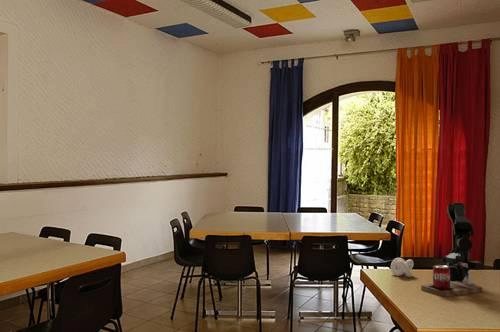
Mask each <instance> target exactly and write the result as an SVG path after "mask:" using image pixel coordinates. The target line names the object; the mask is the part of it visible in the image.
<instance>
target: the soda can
mask: <svg viewBox="0 0 500 332" xmlns="http://www.w3.org/2000/svg"><path fill="white" fill-rule="evenodd" d="M450 282H451V280H450V267H448V266H447V265H443V264H442V265H441V264H436V265H433V266H432V284H433V288H434V289H438V290H441V291H446V290H450Z"/></svg>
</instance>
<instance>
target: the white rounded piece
mask: <svg viewBox="0 0 500 332" xmlns="http://www.w3.org/2000/svg"><path fill="white" fill-rule="evenodd" d="M414 264H415V263H414V260H412V259H407V260H405V259H404V258H401V257H396V258H394V259H392V261H391V263H390V271H391V273H392V275H394V276H396V277H400V276H402V275H403V276H404V275H406V277H407V278H411V277H412V275H413V273H412V269H413V267H414Z"/></svg>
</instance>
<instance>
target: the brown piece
mask: <svg viewBox="0 0 500 332" xmlns="http://www.w3.org/2000/svg"><path fill="white" fill-rule="evenodd" d="M420 287H421V288H420V289H421V291H424V292H427V293H430V294H433V295H436V296H439V297H442V298H447V297H449V298H450V297H454V296H463V295H467V294H469V295H470V294H475V293H482V292H483V287H482V286H479V285H475V284H472V272H471V271H468V273H467V274H466V276H465V278H464V280H463V282H460V281H450V290H446V291H441V290H438V289H434V288H433V283H431V284H423V285H421V286H420Z"/></svg>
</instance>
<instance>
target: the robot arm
mask: <svg viewBox="0 0 500 332" xmlns="http://www.w3.org/2000/svg"><path fill="white" fill-rule="evenodd" d="M466 206H467V205H465V204H464V203H463V202H452V203H450V204H448V205H447V208H446V212H447V214H448V218H449V219H450V221H451V237H452V238H451V240H452V242H451V243H452V245H451V246H452V249H451V251H450V252H449V254H447V255H443V256H442V258H441V262H442V263H446V264H447V265H446V266H448V267H450V282H454V281H460V282H463V280H464V278H465V276H466V274H467V273H468V272H470V270H471V269H472V270H481V269H483V270H484V263H483V262H482V261H478V260H473V261H471V260H472V259H471V258H470V253H471V251H472V250H471V249H472V248H473V242H472V240H470V237H471V238H472V237H474V236H473V235H474V234H475V233H474V227H473V224H472V223H471V221H470V219H469V218H467V217H466V211H467V209H466Z"/></svg>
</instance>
